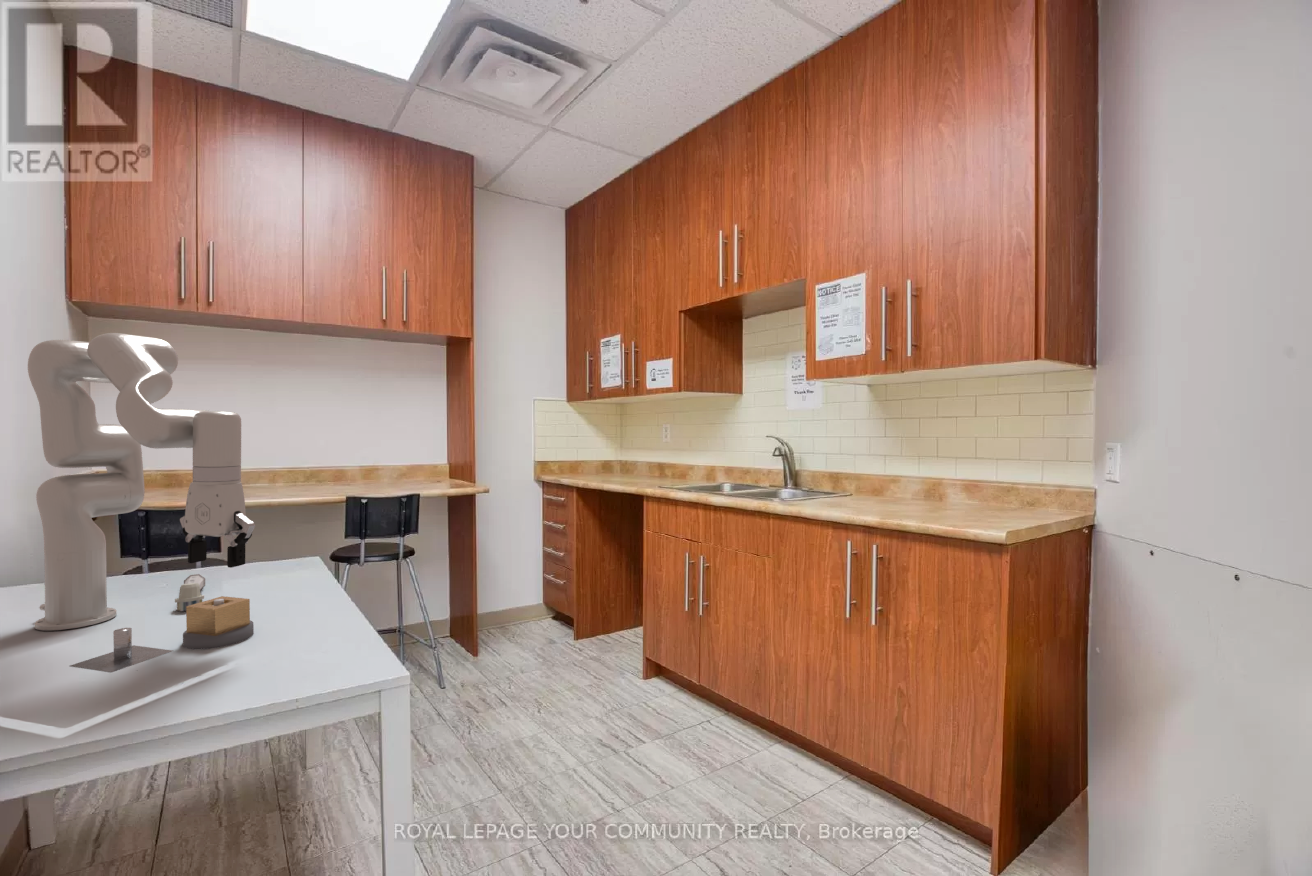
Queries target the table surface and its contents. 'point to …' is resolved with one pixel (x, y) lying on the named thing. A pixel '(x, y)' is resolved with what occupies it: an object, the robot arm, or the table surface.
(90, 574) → the robot arm
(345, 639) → the table surface
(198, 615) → the collar
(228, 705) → the table surface
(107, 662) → the stand
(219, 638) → the hub
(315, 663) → the table surface
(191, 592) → the toothbrush head
